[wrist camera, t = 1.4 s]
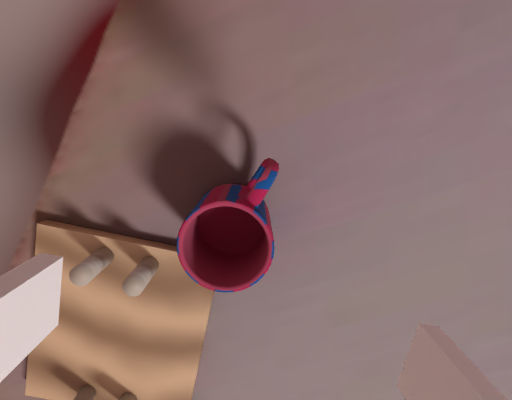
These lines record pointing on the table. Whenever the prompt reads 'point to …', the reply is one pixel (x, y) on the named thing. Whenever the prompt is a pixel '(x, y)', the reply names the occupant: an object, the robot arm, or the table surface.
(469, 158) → the table surface
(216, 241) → the cup
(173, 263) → the wooden peg board
